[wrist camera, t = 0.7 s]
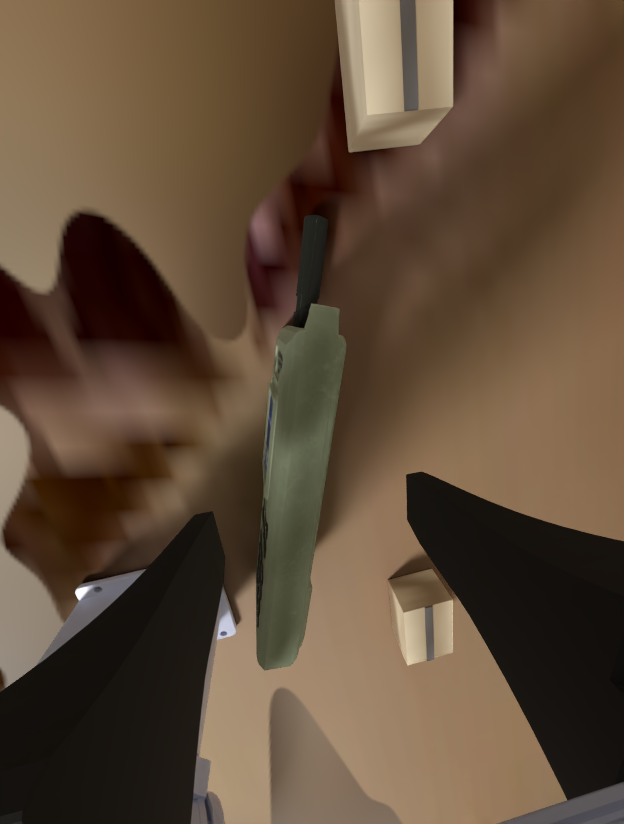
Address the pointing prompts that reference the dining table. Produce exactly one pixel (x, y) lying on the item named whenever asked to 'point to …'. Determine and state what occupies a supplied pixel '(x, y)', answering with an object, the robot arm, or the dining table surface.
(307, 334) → the handheld radio
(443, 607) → the taped cardboard parcel
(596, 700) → the robot arm
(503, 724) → the dining table surface
